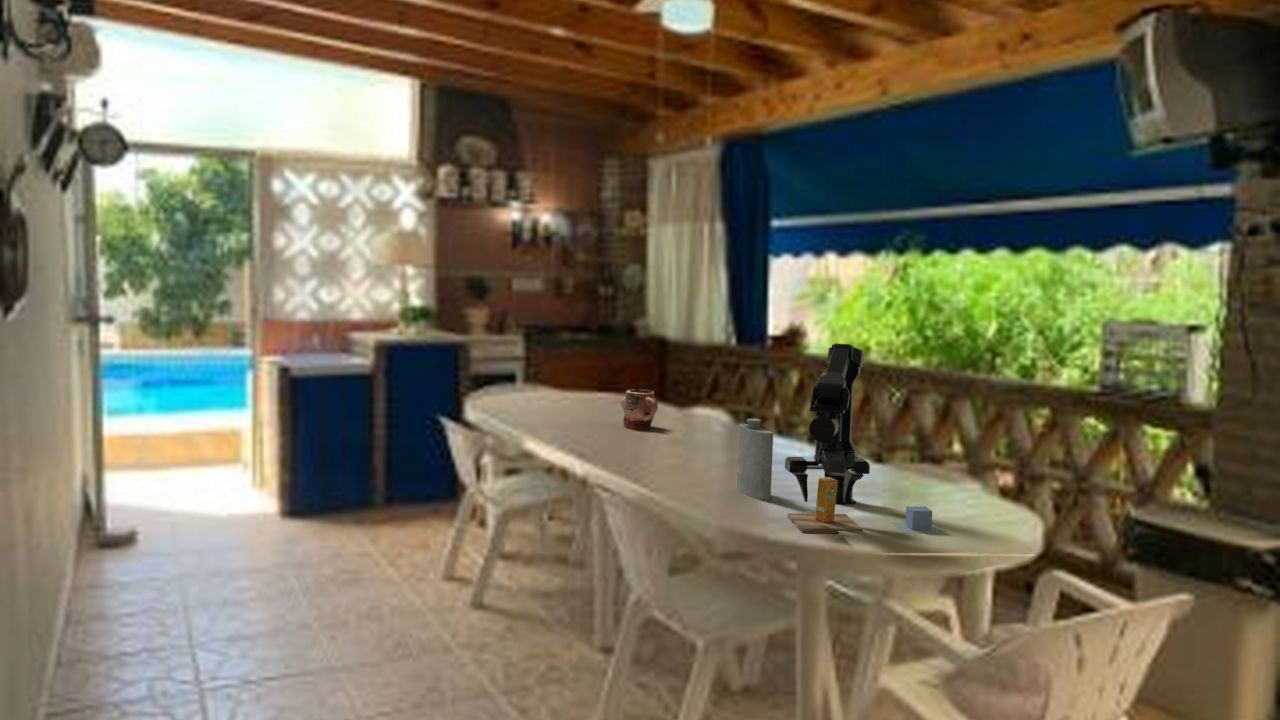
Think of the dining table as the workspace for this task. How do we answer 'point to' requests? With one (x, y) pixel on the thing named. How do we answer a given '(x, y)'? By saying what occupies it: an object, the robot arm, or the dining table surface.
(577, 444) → the dining table surface
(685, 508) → the dining table surface
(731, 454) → the dining table surface
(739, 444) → the hip flask
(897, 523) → the grey mat
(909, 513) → the slate blue block
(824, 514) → the supplement box
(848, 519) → the walnut board
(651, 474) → the dining table surface
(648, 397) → the pink rounded hollow vessel
